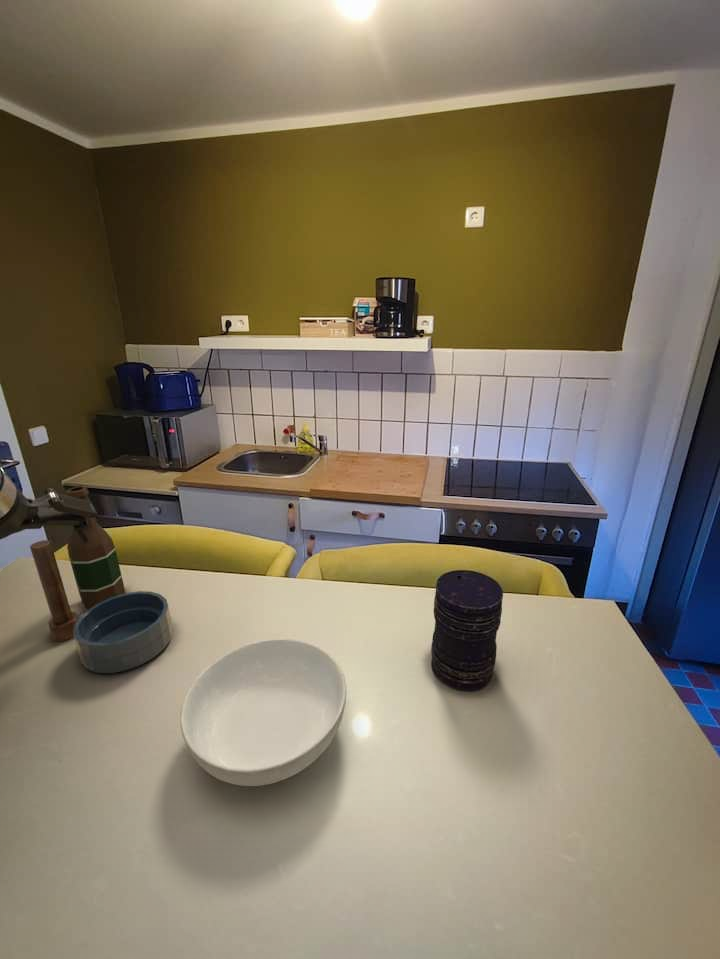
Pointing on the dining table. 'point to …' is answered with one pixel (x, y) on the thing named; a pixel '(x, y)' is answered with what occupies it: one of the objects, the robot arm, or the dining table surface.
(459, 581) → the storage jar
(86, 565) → the beer bottle
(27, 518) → the robot arm
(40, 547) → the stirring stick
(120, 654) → the blue round dish
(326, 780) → the dining table surface
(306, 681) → the serving bowl
